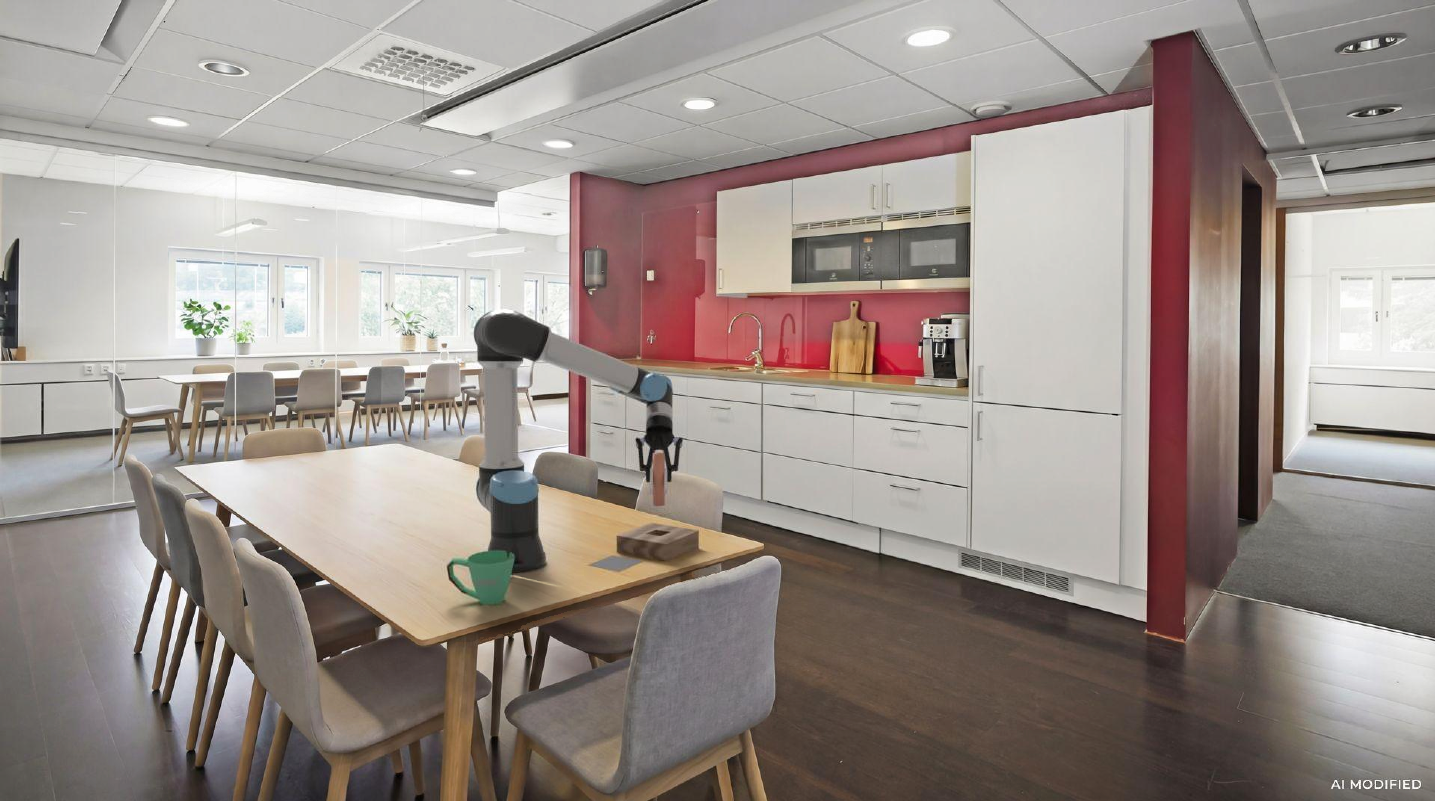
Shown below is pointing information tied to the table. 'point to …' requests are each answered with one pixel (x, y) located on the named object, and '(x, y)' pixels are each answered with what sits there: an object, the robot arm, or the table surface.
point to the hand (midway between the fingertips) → (658, 491)
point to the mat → (615, 563)
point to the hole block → (658, 541)
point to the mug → (485, 575)
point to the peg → (658, 479)
